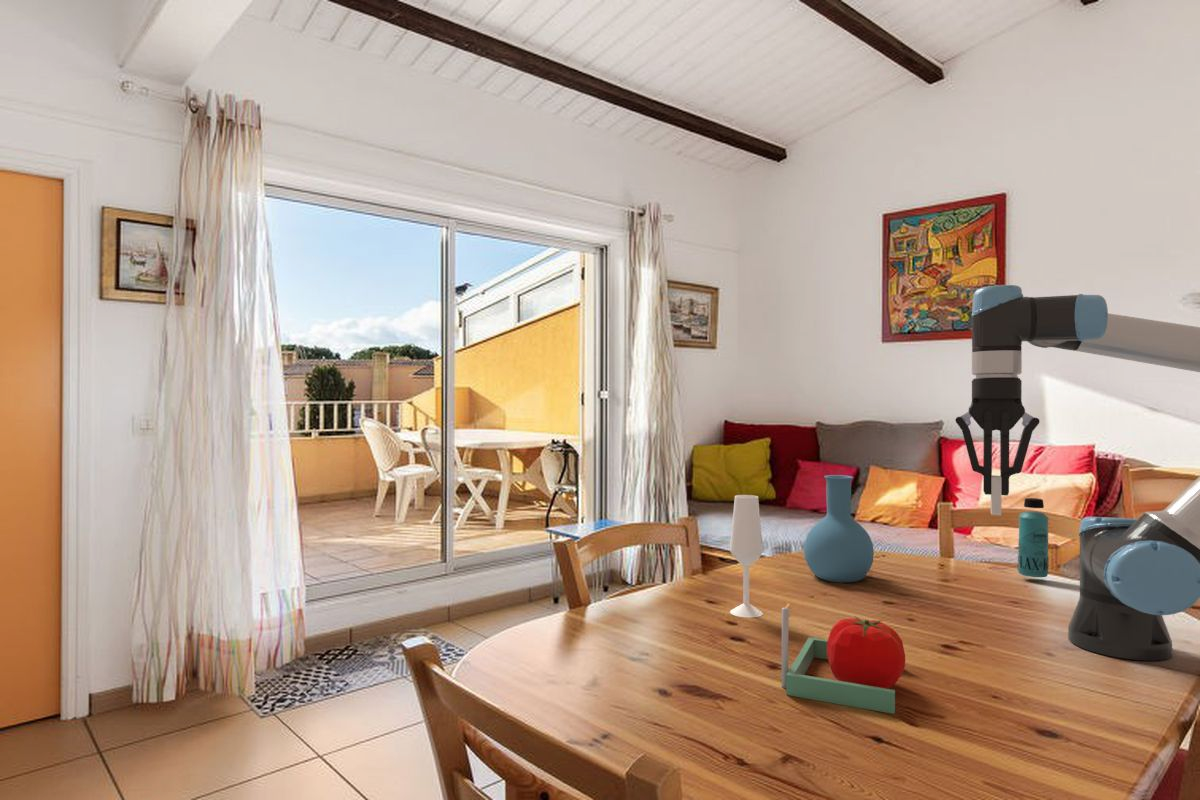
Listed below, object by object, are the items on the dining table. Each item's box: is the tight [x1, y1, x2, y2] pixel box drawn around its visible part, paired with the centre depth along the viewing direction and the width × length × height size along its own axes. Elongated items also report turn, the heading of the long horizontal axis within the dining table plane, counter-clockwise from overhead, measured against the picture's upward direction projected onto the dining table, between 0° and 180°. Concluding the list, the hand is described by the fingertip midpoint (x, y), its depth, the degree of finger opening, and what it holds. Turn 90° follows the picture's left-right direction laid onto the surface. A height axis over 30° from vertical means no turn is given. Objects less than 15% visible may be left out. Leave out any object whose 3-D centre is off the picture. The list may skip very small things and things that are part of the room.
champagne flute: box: [729, 494, 764, 619], centre depth 150 cm, size 7×7×24 cm
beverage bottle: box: [1017, 497, 1050, 578], centre depth 177 cm, size 6×7×20 cm
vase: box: [803, 474, 875, 584], centre depth 180 cm, size 16×16×25 cm
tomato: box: [827, 616, 906, 689], centre depth 112 cm, size 12×12×10 cm
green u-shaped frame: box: [781, 602, 896, 715], centre depth 114 cm, size 16×19×12 cm
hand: (996, 513), depth 125 cm, fingers closed
